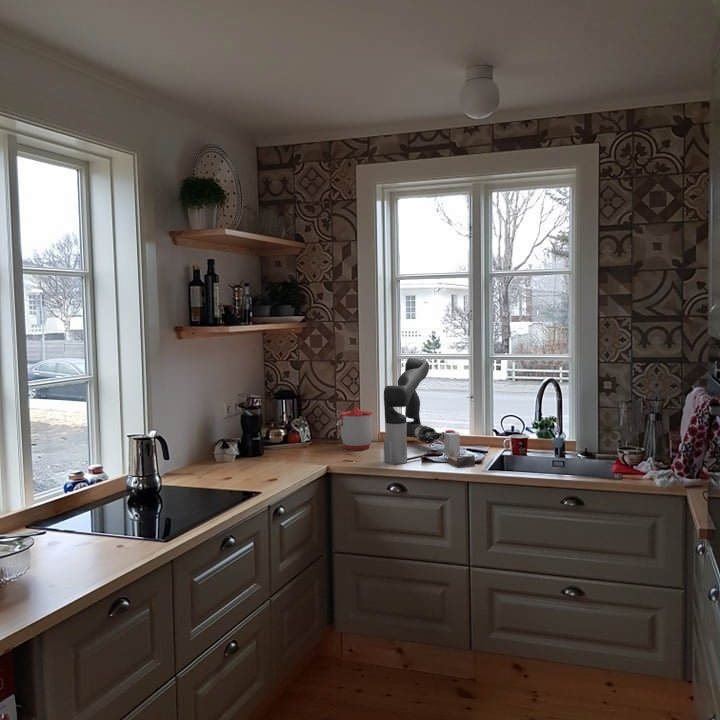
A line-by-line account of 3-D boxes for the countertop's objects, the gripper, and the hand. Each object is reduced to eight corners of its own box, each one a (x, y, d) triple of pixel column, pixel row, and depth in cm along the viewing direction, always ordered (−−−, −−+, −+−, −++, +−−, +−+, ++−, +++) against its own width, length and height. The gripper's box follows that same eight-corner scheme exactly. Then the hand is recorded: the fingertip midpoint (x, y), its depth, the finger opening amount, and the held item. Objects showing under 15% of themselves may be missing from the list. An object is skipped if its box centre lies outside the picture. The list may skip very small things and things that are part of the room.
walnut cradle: (457, 467, 299) (457, 457, 298) (447, 463, 307) (447, 453, 307) (474, 465, 301) (474, 456, 301) (464, 461, 310) (464, 452, 310)
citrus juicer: (334, 446, 349) (333, 405, 347) (369, 444, 352) (368, 403, 351) (339, 452, 334) (338, 410, 332) (376, 450, 337) (375, 408, 335)
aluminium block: (449, 460, 313) (449, 435, 312) (444, 457, 318) (444, 433, 317) (459, 459, 315) (459, 434, 314) (454, 456, 319) (454, 432, 319)
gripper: (411, 427, 338) (426, 432, 323) (438, 424, 343) (454, 430, 328) (411, 442, 339) (426, 449, 324) (438, 440, 344) (454, 446, 329)
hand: (440, 439), depth 326 cm, fingers open, 8 cm apart
